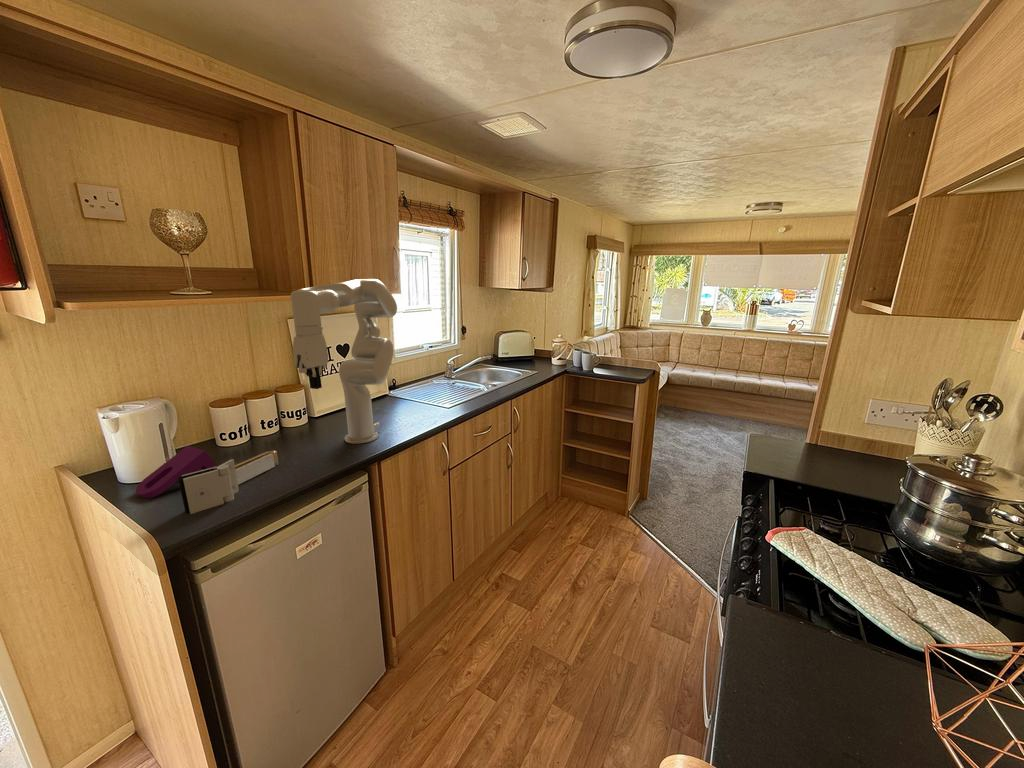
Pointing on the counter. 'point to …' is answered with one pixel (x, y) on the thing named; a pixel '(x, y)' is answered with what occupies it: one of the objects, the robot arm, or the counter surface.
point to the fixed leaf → (258, 458)
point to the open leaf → (254, 468)
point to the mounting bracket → (174, 471)
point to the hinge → (208, 487)
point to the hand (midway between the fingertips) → (316, 388)
